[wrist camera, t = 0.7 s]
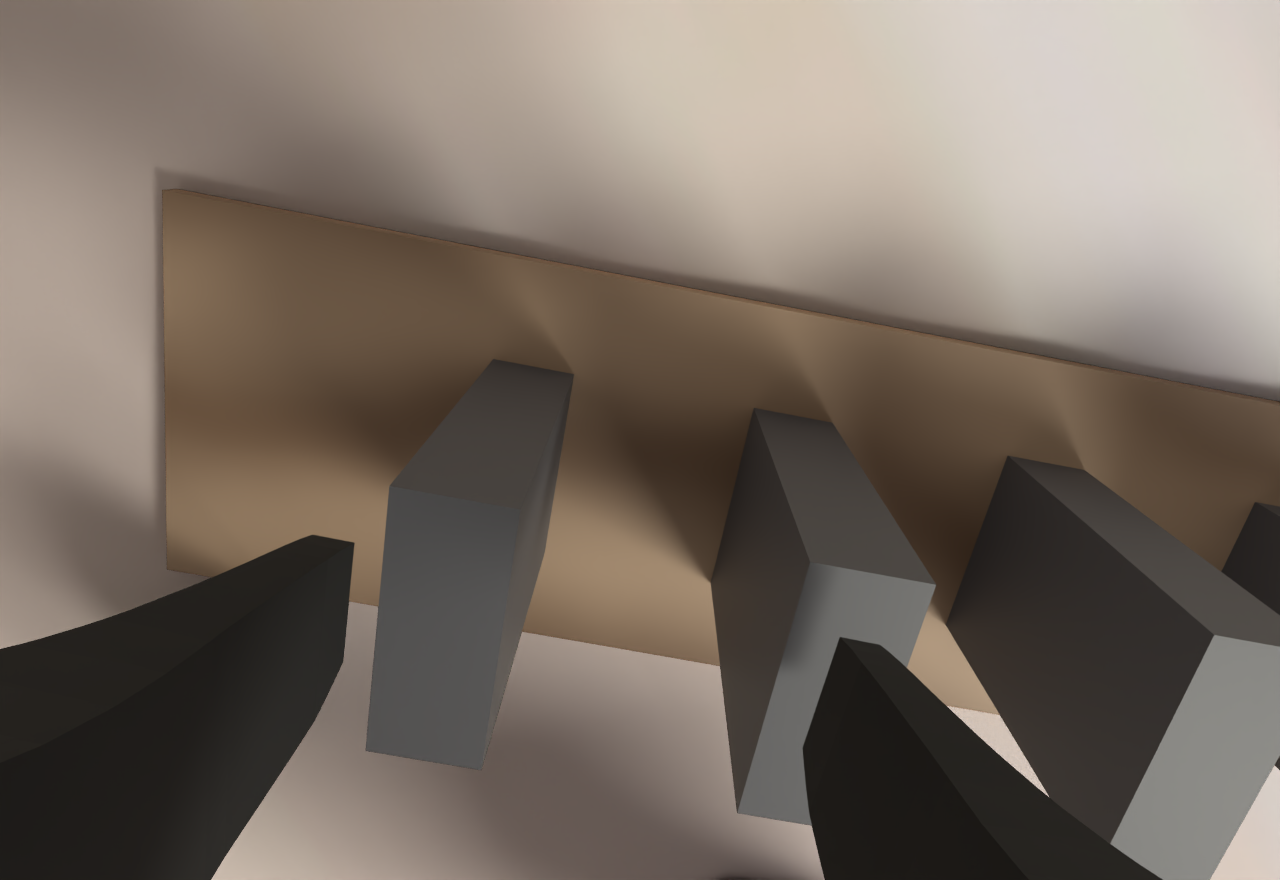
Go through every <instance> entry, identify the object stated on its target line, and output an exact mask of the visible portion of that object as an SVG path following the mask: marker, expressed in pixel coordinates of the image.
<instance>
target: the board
mask: <svg viewBox="0 0 1280 880" xmlns="http://www.w3.org/2000/svg"><path fill="white" fill-rule="evenodd" d="M162 206H163V289H164V372H165V455H166V538H167V570H173V571H179V572H184V573H190V574H196V575H202V576H207V577H214V576H217V575H219V574H221V573H223V572H226V571H228V570H230V569H233V568H235V567H237V566H239V565H242V564H244V563H246V562H249V561H251V560H253V559H255V558H257V557H260V556H262V555H264V554H266V553H269V552H271V551H273V550H275V549H278V548H280V547H282V546H284V545H287V544H289V543H291V542H294V541H296V540H299V539H301V538H304V537H307V536H310V535H318V536H323V537H328V538H333V539H339V540H344V541H349V542H354V543H355V544H354V554H353V565H352V575H351V585H350V595H349V601H351V602H356V603H362V604H368V605H373V606H379V595H380V584H381V573H382V562H383V551H384V540H385V528H386V517H387V506H388V495H389V486H390V485H391V483H392V482H393V481H394V480H395V478H396V477H397V476H398V475H399V474H400V472H401V471H402V470H403V469H404V467H405V466H406V465H407V464H408V463H409V461H410V460H411V459H412V458H413V456H414V455H415V454H416V453H417V452H418V450H419V449H420V448H421V447H422V445H423V444H424V443H425V442H426V441H427V439H428V438H429V437H430V436H431V434H432V433H433V432H434V431H435V430H436V428H437V427H438V426H439V425H440V424H441V422H442V421H443V420H444V419H445V417H446V416H447V415H448V414H449V413H450V411H451V410H452V409H453V408H454V406H455V405H456V404H457V403H458V402H459V400H460V399H461V398H462V397H463V395H464V394H465V393H466V392H467V391H468V389H469V388H470V387H471V386H472V384H473V383H474V382H475V381H476V380H477V378H478V377H479V376H480V375H481V373H482V372H483V371H484V370H485V369H486V367H487V366H488V365H489V364H490V362H491V361H492V360H493V359H496V360H501V361H507V362H512V363H517V364H523V365H528V366H533V367H539V368H544V369H549V370H555V371H560V372H565V373H571V374H574V378H573V384H572V390H571V397H570V403H569V409H568V415H567V421H566V427H565V433H564V439H563V445H562V451H561V457H560V463H559V469H558V475H557V481H556V487H555V493H554V499H553V506H552V512H551V518H550V524H549V530H548V536H547V542H546V548H545V554H544V557H543V561H542V564H541V567H540V571H539V574H538V578H537V581H536V585H535V588H534V591H533V595H532V598H531V602H530V605H529V609H528V612H527V615H526V619H525V622H524V626H523V629H522V632H528V633H534V634H539V635H545V636H551V637H557V638H562V639H568V640H574V641H580V642H585V643H591V644H597V645H602V646H608V647H614V648H620V649H625V650H631V651H637V652H643V653H648V654H654V655H660V656H665V657H671V658H677V659H683V660H688V661H694V662H700V663H706V664H711V665H717V666H720V660H719V652H718V643H717V634H716V626H715V617H714V609H713V600H712V591H711V579H712V575H713V571H714V567H715V563H716V559H717V555H718V551H719V547H720V543H721V539H722V535H723V531H724V527H725V522H726V518H727V514H728V510H729V506H730V502H731V498H732V494H733V490H734V486H735V482H736V478H737V474H738V470H739V466H740V462H741V458H742V453H743V449H744V445H745V441H746V437H747V433H748V429H749V425H750V421H751V417H752V413H753V409H754V408H757V409H763V410H768V411H773V412H779V413H784V414H789V415H795V416H800V417H805V418H811V419H816V420H821V421H826V422H832V423H833V424H834V426H835V427H836V429H837V430H838V432H839V434H840V435H841V437H842V438H843V440H844V441H845V443H846V444H847V446H848V448H849V449H850V451H851V452H852V454H853V455H854V457H855V459H856V460H857V462H858V463H859V465H860V466H861V468H862V469H863V471H864V473H865V474H866V476H867V477H868V479H869V480H870V482H871V484H872V485H873V487H874V488H875V490H876V491H877V493H878V494H879V496H880V498H881V499H882V501H883V502H884V504H885V505H886V507H887V509H888V510H889V512H890V513H891V515H892V516H893V518H894V519H895V521H896V523H897V524H898V526H899V527H900V529H901V530H902V532H903V534H904V535H905V537H906V538H907V540H908V541H909V543H910V544H911V546H912V548H913V549H914V551H915V552H916V554H917V555H918V557H919V559H920V560H921V562H922V563H923V565H924V566H925V568H926V569H927V571H928V573H929V574H930V576H931V577H932V579H933V580H934V582H935V584H936V587H935V590H934V593H933V596H932V598H931V601H930V604H929V607H928V610H927V612H926V615H925V618H924V621H923V624H922V627H921V629H920V632H919V635H918V638H917V641H916V644H915V646H914V649H913V652H912V655H911V658H910V660H909V663H908V666H907V669H908V670H910V671H911V672H912V673H913V674H914V675H915V676H916V677H917V678H918V679H919V680H920V681H921V682H922V683H923V684H924V685H925V686H926V687H927V688H928V689H929V690H930V691H931V692H932V693H934V694H935V695H936V696H937V697H938V698H939V699H940V700H941V701H942V702H943V703H944V704H945V705H946V706H952V707H957V708H963V709H969V710H975V711H980V712H986V713H992V714H998V715H1000V714H999V713H998V711H997V709H996V708H995V706H994V704H993V703H992V701H991V699H990V698H989V696H988V694H987V693H986V691H985V689H984V688H983V686H982V684H981V683H980V681H979V680H978V678H977V676H976V675H975V673H974V671H973V670H972V668H971V666H970V665H969V663H968V661H967V660H966V658H965V656H964V655H963V653H962V651H961V650H960V648H959V646H958V645H957V643H956V641H955V640H954V638H953V637H952V635H951V633H950V632H949V630H948V628H947V627H946V623H947V620H948V617H949V614H950V612H951V609H952V606H953V603H954V601H955V598H956V595H957V593H958V590H959V587H960V584H961V582H962V579H963V576H964V573H965V571H966V568H967V565H968V562H969V560H970V557H971V554H972V551H973V549H974V546H975V543H976V541H977V538H978V535H979V532H980V530H981V527H982V524H983V521H984V519H985V516H986V513H987V510H988V508H989V505H990V502H991V500H992V497H993V494H994V491H995V489H996V486H997V483H998V480H999V478H1000V475H1001V472H1002V469H1003V467H1004V464H1005V461H1006V458H1007V456H1013V457H1018V458H1024V459H1029V460H1034V461H1040V462H1045V463H1050V464H1056V465H1061V466H1066V467H1072V468H1077V469H1082V470H1085V471H1087V472H1088V473H1089V474H1091V475H1092V476H1093V477H1095V478H1096V479H1097V480H1099V481H1100V482H1101V483H1103V484H1104V485H1105V486H1107V487H1108V488H1109V489H1111V490H1112V491H1113V492H1115V493H1116V494H1117V495H1119V496H1120V497H1121V498H1123V499H1124V500H1125V501H1127V502H1128V503H1130V504H1131V505H1132V506H1134V507H1135V508H1136V509H1138V510H1139V511H1140V512H1142V513H1143V514H1144V515H1146V516H1147V517H1148V518H1150V519H1151V520H1152V521H1154V522H1155V523H1156V524H1158V525H1159V526H1160V527H1162V528H1163V529H1164V530H1166V531H1167V532H1168V533H1170V534H1171V535H1172V536H1174V537H1175V538H1177V539H1178V540H1179V541H1181V542H1182V543H1183V544H1185V545H1186V546H1187V547H1189V548H1190V549H1191V550H1193V551H1194V552H1195V553H1197V554H1198V555H1199V556H1201V557H1202V558H1203V559H1205V560H1206V561H1207V562H1209V563H1210V564H1211V565H1213V566H1214V567H1215V568H1217V569H1218V570H1219V571H1222V569H1223V567H1224V565H1225V563H1226V561H1227V559H1228V557H1229V555H1230V553H1231V551H1232V549H1233V546H1234V544H1235V542H1236V540H1237V538H1238V536H1239V534H1240V532H1241V530H1242V528H1243V526H1244V524H1245V522H1246V520H1247V518H1248V516H1249V514H1250V512H1251V509H1252V507H1253V505H1254V503H1255V502H1258V503H1263V504H1269V505H1274V506H1279V507H1280V402H1278V401H1273V400H1268V399H1263V398H1258V397H1252V396H1247V395H1242V394H1237V393H1232V392H1226V391H1221V390H1216V389H1211V388H1206V387H1201V386H1195V385H1190V384H1185V383H1180V382H1175V381H1169V380H1164V379H1159V378H1154V377H1149V376H1144V375H1138V374H1133V373H1128V372H1123V371H1118V370H1112V369H1107V368H1102V367H1097V366H1092V365H1087V364H1081V363H1076V362H1071V361H1066V360H1061V359H1055V358H1050V357H1045V356H1040V355H1035V354H1030V353H1024V352H1019V351H1014V350H1009V349H1004V348H998V347H993V346H988V345H983V344H978V343H973V342H967V341H962V340H957V339H952V338H947V337H941V336H936V335H931V334H926V333H921V332H916V331H910V330H905V329H900V328H895V327H890V326H884V325H879V324H874V323H869V322H864V321H859V320H853V319H848V318H843V317H838V316H833V315H827V314H822V313H817V312H812V311H807V310H802V309H796V308H791V307H786V306H781V305H776V304H770V303H765V302H760V301H755V300H750V299H745V298H739V297H734V296H729V295H724V294H719V293H713V292H708V291H703V290H698V289H693V288H688V287H682V286H677V285H672V284H667V283H662V282H656V281H651V280H646V279H641V278H636V277H631V276H625V275H620V274H615V273H610V272H605V271H599V270H594V269H589V268H584V267H579V266H574V265H568V264H563V263H558V262H553V261H548V260H542V259H537V258H532V257H527V256H522V255H517V254H511V253H506V252H501V251H496V250H491V249H485V248H480V247H475V246H470V245H465V244H460V243H454V242H449V241H444V240H439V239H434V238H428V237H423V236H418V235H413V234H408V233H403V232H397V231H392V230H387V229H382V228H377V227H371V226H366V225H361V224H356V223H351V222H346V221H340V220H335V219H330V218H325V217H320V216H314V215H309V214H304V213H299V212H294V211H289V210H283V209H278V208H273V207H268V206H263V205H257V204H252V203H247V202H242V201H237V200H232V199H226V198H221V197H216V196H211V195H206V194H200V193H195V192H190V191H185V190H180V189H170V190H162Z"/></svg>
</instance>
